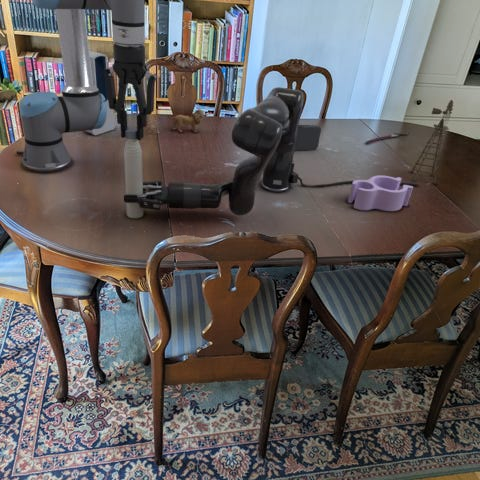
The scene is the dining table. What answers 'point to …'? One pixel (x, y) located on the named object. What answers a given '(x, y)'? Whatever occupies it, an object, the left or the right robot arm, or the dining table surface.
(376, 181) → the clip
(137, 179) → the bottle
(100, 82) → the electronic device
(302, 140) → the handheld gaming console
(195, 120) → the lion figurine
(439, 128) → the miniature windmill
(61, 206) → the dining table surface
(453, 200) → the dining table surface
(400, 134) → the sword
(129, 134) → the cap
